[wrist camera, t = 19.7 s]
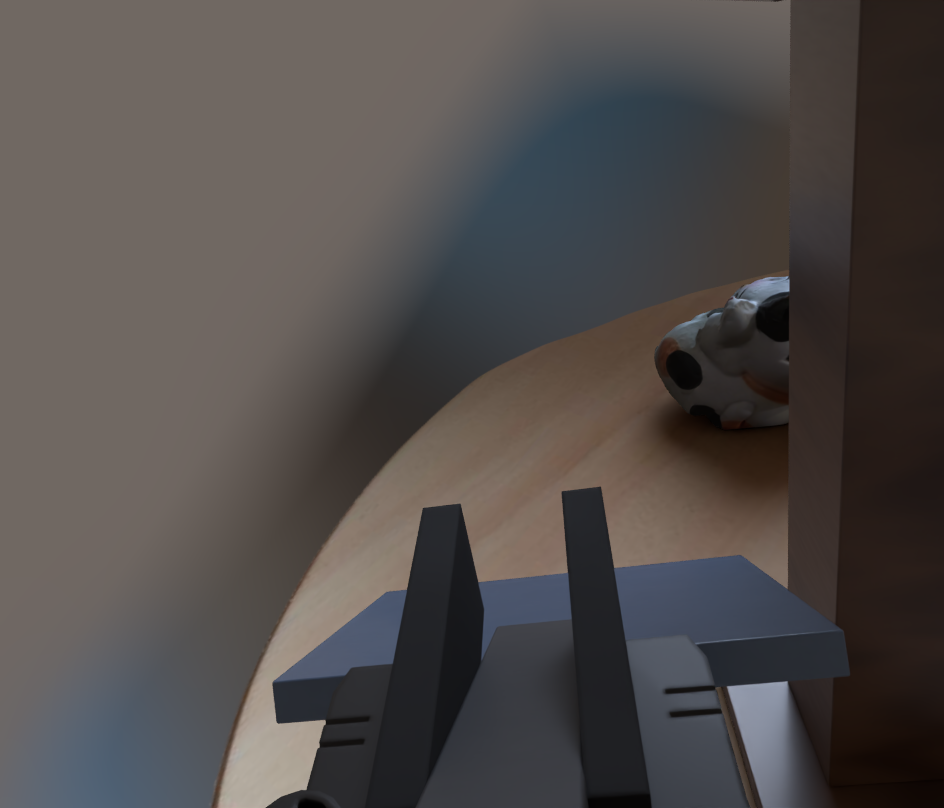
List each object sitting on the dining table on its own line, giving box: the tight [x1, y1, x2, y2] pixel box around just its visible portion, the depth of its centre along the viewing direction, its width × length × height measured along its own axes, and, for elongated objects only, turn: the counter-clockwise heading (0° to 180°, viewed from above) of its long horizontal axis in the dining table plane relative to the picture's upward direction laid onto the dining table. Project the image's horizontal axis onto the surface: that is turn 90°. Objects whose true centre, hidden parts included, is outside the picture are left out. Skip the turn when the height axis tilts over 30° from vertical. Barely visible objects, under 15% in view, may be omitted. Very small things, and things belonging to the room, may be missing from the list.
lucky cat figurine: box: [654, 276, 789, 430], centre depth 63 cm, size 15×12×14 cm
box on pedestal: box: [722, 0, 944, 808], centre depth 28 cm, size 14×12×39 cm
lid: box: [273, 555, 850, 808], centre depth 18 cm, size 13×21×2 cm
